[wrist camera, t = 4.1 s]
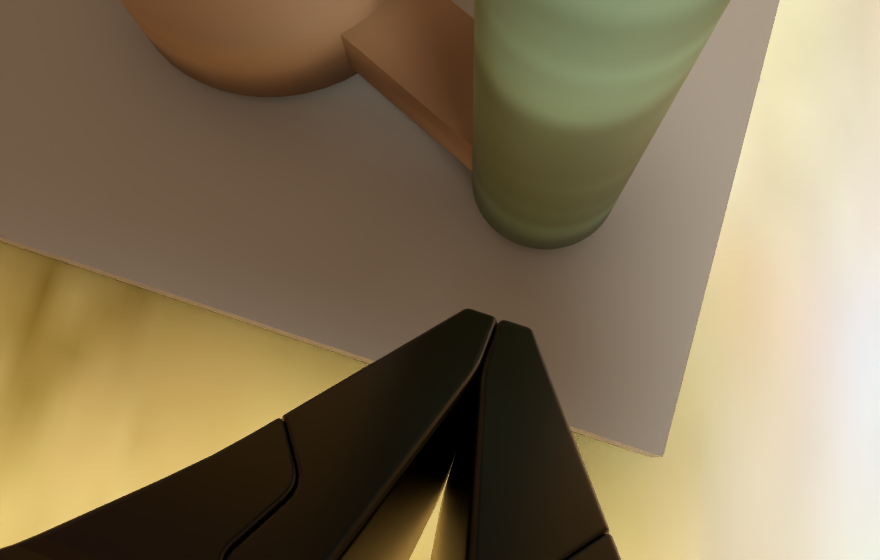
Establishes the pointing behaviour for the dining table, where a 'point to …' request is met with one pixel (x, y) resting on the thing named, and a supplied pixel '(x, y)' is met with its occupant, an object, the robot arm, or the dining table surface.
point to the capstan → (471, 83)
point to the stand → (362, 208)
